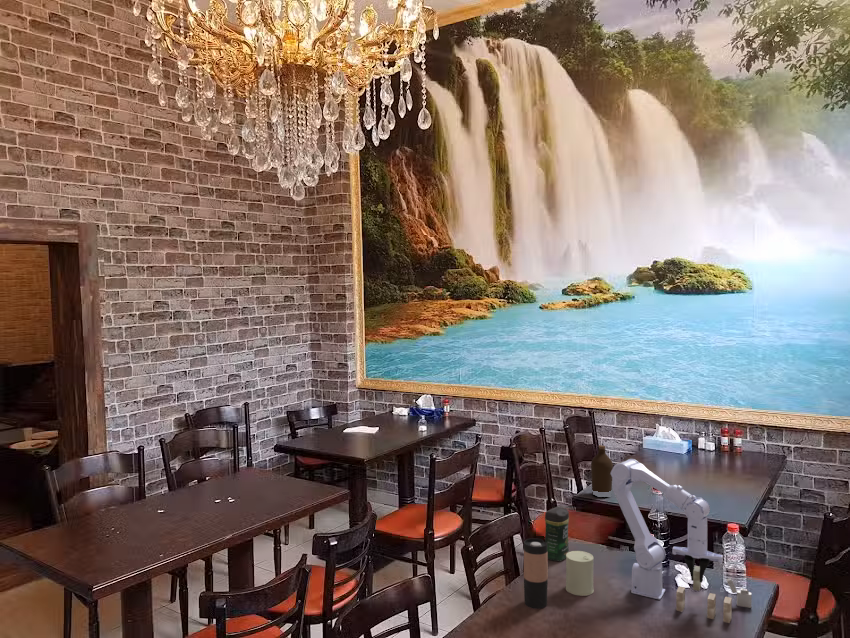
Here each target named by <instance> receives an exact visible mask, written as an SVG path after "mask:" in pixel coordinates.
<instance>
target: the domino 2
mask: <svg viewBox="0 0 850 638" xmlns="http://www.w3.org/2000/svg"><path fill="white" fill-rule="evenodd" d="M692 583H693V584H692V589H693V590H694V591H698V592H700V589H701V587H702V583H701V582H700V565H699V566H697V565H694V570H693V581H692Z"/></svg>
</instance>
